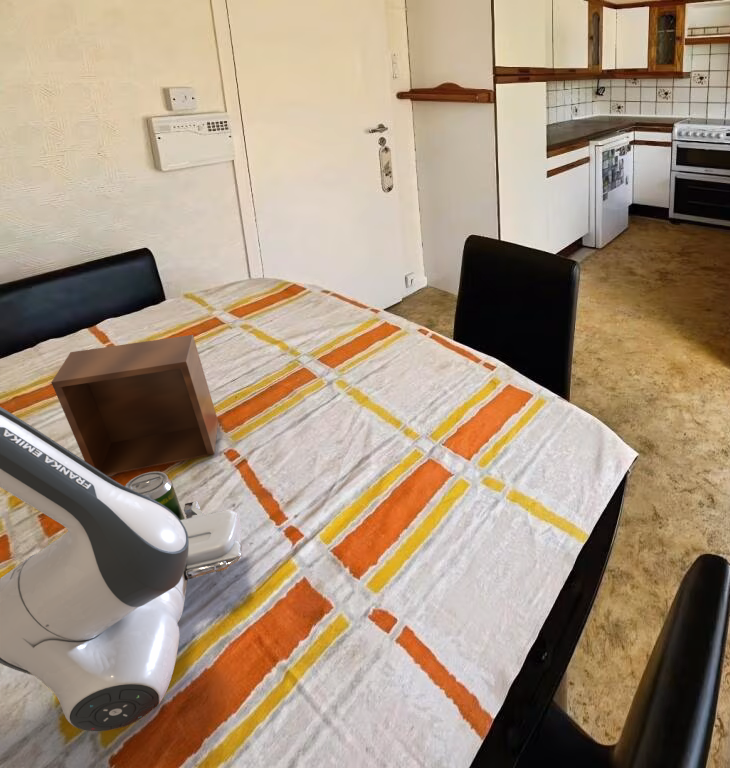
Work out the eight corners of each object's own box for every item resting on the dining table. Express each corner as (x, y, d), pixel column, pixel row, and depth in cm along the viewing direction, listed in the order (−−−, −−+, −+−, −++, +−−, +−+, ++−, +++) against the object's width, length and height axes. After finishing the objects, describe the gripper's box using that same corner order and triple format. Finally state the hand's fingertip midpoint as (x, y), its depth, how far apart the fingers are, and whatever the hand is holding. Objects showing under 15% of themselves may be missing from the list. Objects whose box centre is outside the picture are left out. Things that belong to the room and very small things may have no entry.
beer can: (189, 535, 87) (164, 465, 82) (199, 556, 84) (174, 485, 78) (147, 552, 85) (118, 481, 79) (155, 575, 81) (125, 502, 75)
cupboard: (93, 482, 99) (51, 382, 90) (107, 445, 108) (70, 352, 99) (215, 458, 104) (186, 361, 95) (219, 425, 113) (192, 334, 105)
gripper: (234, 544, 72) (238, 476, 83) (28, 592, 66) (62, 512, 77) (246, 584, 75) (248, 513, 86) (50, 633, 69) (80, 550, 80)
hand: (159, 513), depth 82 cm, fingers open, 7 cm apart
